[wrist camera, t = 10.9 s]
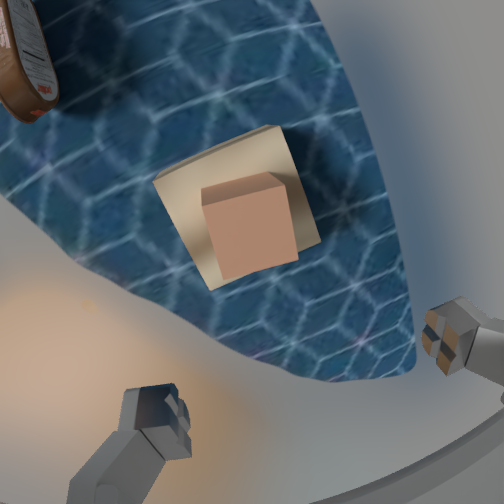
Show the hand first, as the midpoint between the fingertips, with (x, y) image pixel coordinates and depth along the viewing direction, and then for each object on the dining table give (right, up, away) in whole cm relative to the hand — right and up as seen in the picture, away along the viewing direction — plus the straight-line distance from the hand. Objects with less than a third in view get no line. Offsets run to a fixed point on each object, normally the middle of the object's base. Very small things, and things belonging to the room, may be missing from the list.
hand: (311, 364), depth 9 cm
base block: (-3, +8, +19) cm, 21 cm away
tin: (-21, +22, +10) cm, 32 cm away
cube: (-3, +6, +15) cm, 16 cm away
